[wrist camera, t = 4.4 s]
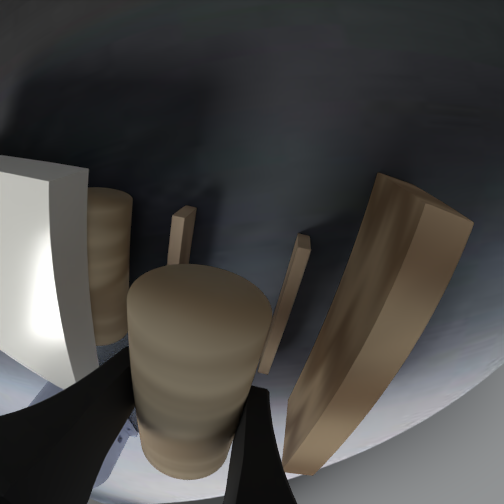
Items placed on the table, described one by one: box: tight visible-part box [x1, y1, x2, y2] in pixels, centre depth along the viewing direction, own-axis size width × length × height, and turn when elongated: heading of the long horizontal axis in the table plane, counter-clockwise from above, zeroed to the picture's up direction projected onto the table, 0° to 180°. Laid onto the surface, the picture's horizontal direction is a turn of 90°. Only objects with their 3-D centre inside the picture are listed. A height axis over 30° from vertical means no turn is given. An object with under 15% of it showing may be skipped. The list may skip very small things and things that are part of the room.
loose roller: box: [127, 264, 272, 480], centre depth 10 cm, size 8×4×4 cm, turn 168°
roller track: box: [87, 187, 311, 375], centre depth 15 cm, size 8×25×4 cm, turn 78°
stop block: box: [282, 172, 474, 475], centre depth 14 cm, size 16×2×6 cm, turn 168°
